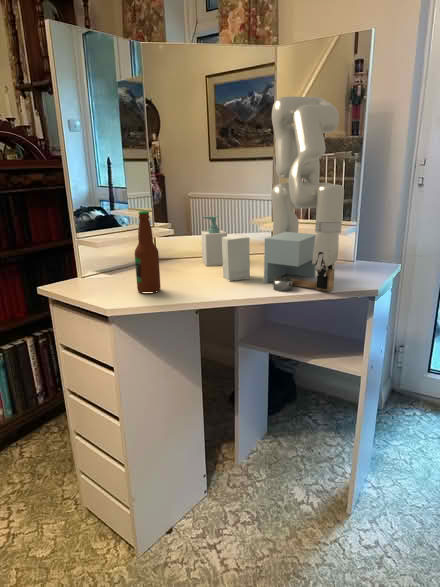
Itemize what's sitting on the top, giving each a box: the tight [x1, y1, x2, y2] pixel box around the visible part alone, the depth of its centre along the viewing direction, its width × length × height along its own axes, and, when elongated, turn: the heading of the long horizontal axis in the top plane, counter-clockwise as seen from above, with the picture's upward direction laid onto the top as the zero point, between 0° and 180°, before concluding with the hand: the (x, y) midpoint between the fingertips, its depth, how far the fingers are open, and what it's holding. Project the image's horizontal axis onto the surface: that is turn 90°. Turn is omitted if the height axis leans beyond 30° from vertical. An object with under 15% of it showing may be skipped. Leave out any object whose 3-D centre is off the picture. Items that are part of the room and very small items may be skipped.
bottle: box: [134, 210, 162, 293], centre depth 126 cm, size 7×7×25 cm
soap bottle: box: [201, 215, 228, 267], centre depth 163 cm, size 9×9×19 cm
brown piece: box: [274, 268, 336, 292], centre depth 129 cm, size 19×4×6 cm, turn 56°
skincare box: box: [222, 234, 251, 281], centre depth 140 cm, size 8×6×15 cm
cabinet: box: [263, 232, 317, 284], centre depth 137 cm, size 12×16×15 cm
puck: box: [272, 277, 294, 293], centre depth 129 cm, size 6×6×3 cm
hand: (324, 285), depth 126 cm, fingers closed on brown piece, 4 cm apart
